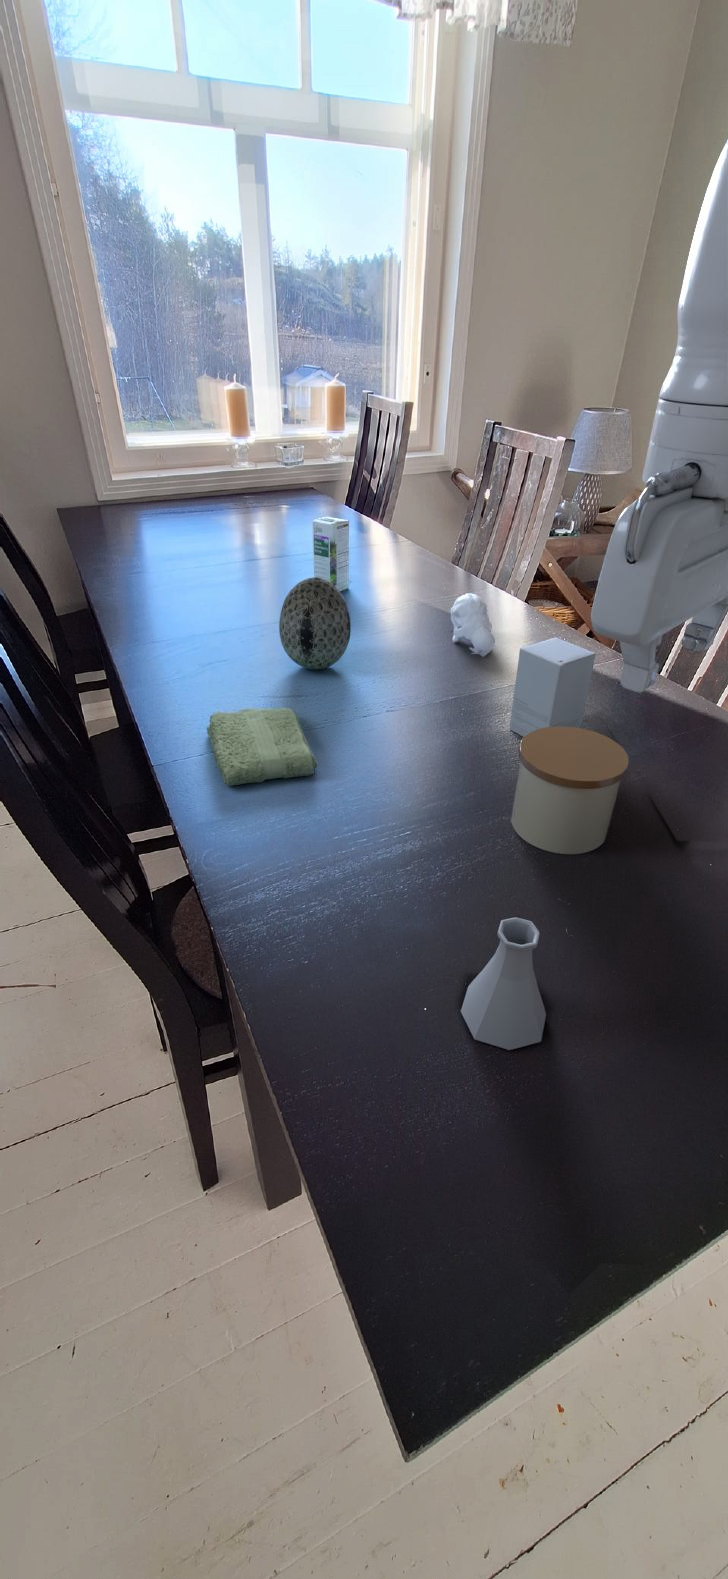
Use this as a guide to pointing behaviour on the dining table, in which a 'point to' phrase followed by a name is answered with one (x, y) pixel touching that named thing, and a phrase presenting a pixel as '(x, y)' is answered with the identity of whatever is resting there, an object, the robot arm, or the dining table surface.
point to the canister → (567, 788)
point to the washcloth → (259, 745)
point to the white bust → (472, 623)
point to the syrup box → (331, 551)
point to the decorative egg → (314, 624)
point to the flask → (507, 991)
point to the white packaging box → (551, 686)
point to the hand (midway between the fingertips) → (667, 666)
